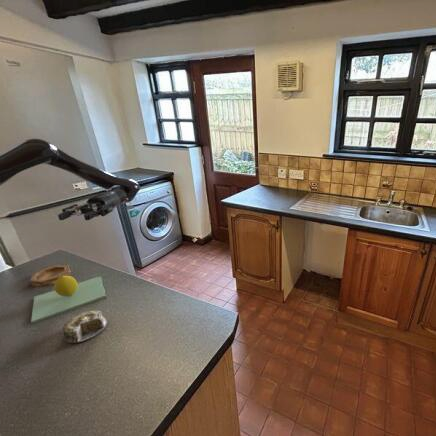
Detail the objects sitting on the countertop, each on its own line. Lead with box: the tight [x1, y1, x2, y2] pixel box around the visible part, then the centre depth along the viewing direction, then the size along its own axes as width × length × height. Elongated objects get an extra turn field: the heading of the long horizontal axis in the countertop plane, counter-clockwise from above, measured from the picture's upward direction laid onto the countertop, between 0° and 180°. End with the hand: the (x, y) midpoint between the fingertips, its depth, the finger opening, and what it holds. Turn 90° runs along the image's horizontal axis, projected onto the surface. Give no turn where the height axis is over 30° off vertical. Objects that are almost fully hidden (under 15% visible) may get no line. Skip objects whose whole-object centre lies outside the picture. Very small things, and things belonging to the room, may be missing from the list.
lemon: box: [54, 275, 78, 296], centre depth 80 cm, size 6×6×8 cm
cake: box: [62, 310, 108, 344], centre depth 69 cm, size 10×10×5 cm
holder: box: [30, 264, 72, 287], centre depth 92 cm, size 11×11×2 cm
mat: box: [30, 275, 107, 324], centre depth 82 cm, size 18×14×1 cm
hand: (72, 217), depth 83 cm, fingers open, 8 cm apart
